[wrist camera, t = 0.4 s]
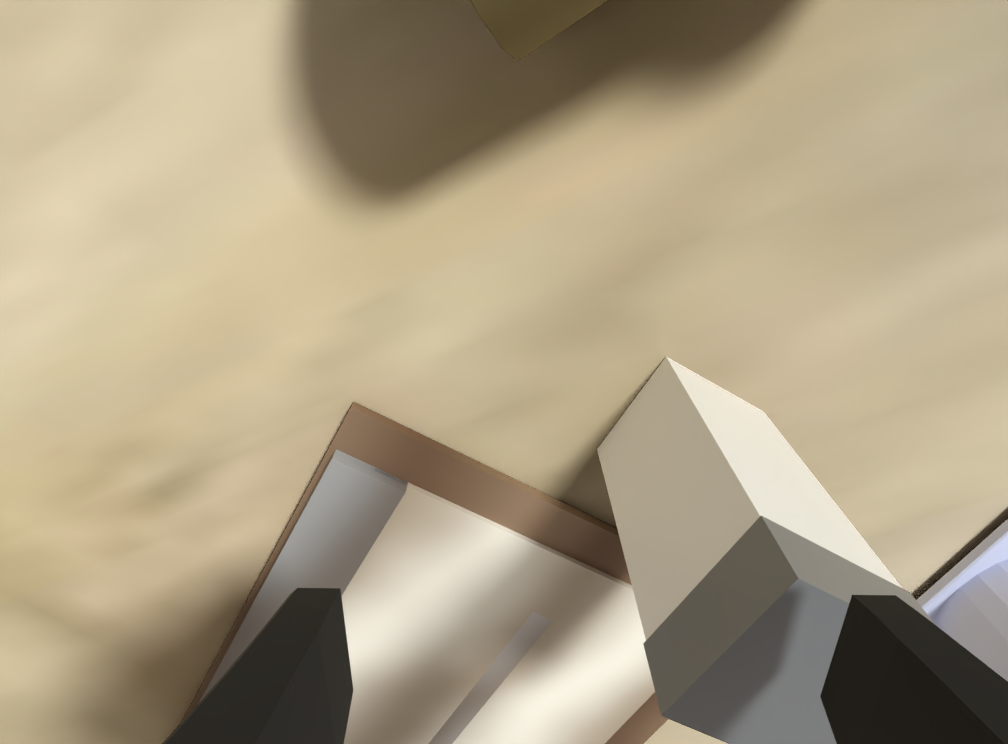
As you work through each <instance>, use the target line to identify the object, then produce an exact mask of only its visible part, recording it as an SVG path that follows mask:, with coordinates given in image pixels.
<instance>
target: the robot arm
mask: <svg viewBox="0 0 1008 744" xmlns="http://www.w3.org/2000/svg"><path fill="white" fill-rule="evenodd" d="M916 601H917V602H918V603H919V605H920V606H921V607H922V608H923V610H924V611H925V612H926V613H927V615H928V616H929V617H930V618H931V620H932V621H933V622H934V623H935V624H933V623H932V622H931V621H930V620H928V619H927V618H926V617H924V616H923V615H922V614H920V613H919V612H918V611H916V610H915V609H914V608H912V607H911V606H910V605H908V604H907V603H906V602H904V601H903V600H901V599H900V598H899V597H897V596H896V595H852V596H851V600H850V603H849V606H848V609H847V612H846V616H845V619H844V622H843V625H842V628H841V632H840V635H839V638H838V641H837V644H836V648H835V651H834V654H833V657H832V660H831V663H830V667H829V670H828V673H827V676H826V679H825V683H824V686H823V689H822V692H821V695H820V697H821V700H822V703H823V706H824V709H825V712H826V715H827V718H828V720H829V723H830V726H831V729H832V732H833V735H834V738H835V740H836V743H837V744H1008V519H1007V520H1006V521H1005V522H1003V523H1002V524H1001V525H1000V526H999V527H998V528H997V529H996V530H995V531H993V532H992V533H991V534H990V535H989V536H988V537H987V538H986V539H984V540H983V541H982V542H981V543H980V544H979V545H978V546H977V547H975V548H974V549H973V550H972V551H971V552H970V553H969V554H968V555H966V556H965V557H964V558H963V559H962V560H961V561H960V562H959V563H957V564H956V565H955V566H954V567H953V568H952V569H951V570H950V571H948V572H947V573H946V574H945V575H944V576H943V577H942V578H941V579H939V580H938V581H937V582H936V583H935V584H934V585H933V586H932V587H931V588H929V589H928V590H927V591H926V592H925V593H924V594H923V595H922V596H920V597H919V598H918V599H917V600H916ZM352 695H353V683H352V676H351V668H350V660H349V652H348V644H347V636H346V628H345V620H344V613H343V605H342V597H341V589H340V588H297V589H296V590H294V591H293V592H292V593H291V594H290V595H289V596H288V598H287V599H286V600H285V601H284V603H283V604H282V605H281V606H280V607H279V609H278V610H277V611H276V612H275V614H274V615H273V616H272V617H271V619H270V620H269V621H268V622H267V624H266V625H265V626H264V627H263V628H262V630H261V631H260V632H259V633H258V635H257V636H256V637H255V638H254V639H253V641H252V642H251V643H250V644H249V645H248V647H247V648H246V649H245V650H244V651H243V653H242V654H241V655H240V656H239V657H238V659H237V660H236V661H235V662H234V663H233V665H232V666H231V667H230V668H229V669H228V670H227V672H226V673H225V674H224V675H223V676H222V677H221V679H220V680H219V681H218V682H217V683H216V684H215V685H214V687H213V688H212V689H211V690H210V691H209V692H208V693H207V695H206V696H205V697H204V698H203V699H202V700H201V701H200V702H199V704H198V705H197V706H196V707H195V708H194V709H193V710H192V712H191V713H190V714H189V715H188V716H187V717H186V718H185V720H184V721H183V722H182V723H181V724H180V725H179V726H178V727H177V728H176V730H175V731H174V732H173V733H172V734H171V735H170V736H169V737H168V738H167V739H166V740H165V741H164V743H163V744H344V739H345V734H346V729H347V723H348V718H349V712H350V707H351V701H352Z"/></svg>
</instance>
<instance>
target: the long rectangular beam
mask: <svg viewBox="0 0 1008 744" xmlns="http://www.w3.org/2000/svg"><path fill="white" fill-rule="evenodd" d="M597 451H598V455H599V459H600V463H601V467H602V471H603V475H604V479H605V482H606V486H607V490H608V494H609V498H610V502H611V506H612V510H613V514H614V518H615V522H616V525H617V529H618V533H619V537H620V541H621V545H622V549H623V553H624V557H625V561H626V564H627V568H628V572H629V576H630V580H631V584H632V588H633V592H634V596H635V600H636V603H637V607H638V611H639V615H640V619H641V623H642V627H643V631H644V635H645V639H646V641H645V642H644V643H643V645H644V649H645V653H646V657H647V661H648V665H649V669H650V673H651V677H652V681H653V685H654V689H655V693H656V697H657V701H658V705H659V709H660V713H661V716H663V717H666V718H668V719H670V720H673V721H675V722H678V723H680V724H682V725H685V726H687V727H690V728H692V729H695V730H697V731H699V732H702V733H704V734H707V735H709V736H711V737H714V738H716V739H719V740H721V741H724V742H726V743H728V744H837V743H836V740H835V738H834V735H833V732H832V729H831V726H830V723H829V720H828V718H827V715H826V712H825V709H824V706H823V703H822V700H821V697H820V695H821V692H822V689H823V686H824V683H825V679H826V676H827V673H828V670H829V667H830V663H831V660H832V657H833V654H834V651H835V648H836V644H837V641H838V638H839V635H840V632H841V628H842V625H843V622H844V619H845V616H846V612H847V609H848V606H849V603H850V600H851V596H852V595H896V596H897V597H899V598H900V599H901V600H903V601H904V602H906V603H907V604H908V605H910V606H911V607H912V608H914V609H915V610H916V611H918V612H919V613H920V614H922V615H923V616H924V617H926V618H927V619H928V620H930V621H931V622H932V623H933V624H935V623H934V622H933V621H932V620H931V618H930V617H929V616H928V615H927V613H926V612H925V611H924V610H923V608H922V607H921V606H920V605H919V603H918V602H917V601H916V599H915V598H914V597H913V596H912V594H911V593H910V592H908V591H906V590H904V589H903V588H902V587H901V586H900V585H899V583H898V582H897V581H896V580H895V578H894V577H893V576H892V575H891V573H890V572H889V571H888V569H887V568H886V567H885V566H884V564H883V563H882V562H881V561H880V559H879V558H878V557H877V555H876V554H875V553H874V552H873V550H872V549H871V548H870V546H869V545H868V544H867V543H866V541H865V540H864V539H863V538H862V536H861V535H860V534H859V532H858V531H857V530H856V529H855V527H854V526H853V525H852V524H851V522H850V521H849V520H848V518H847V517H846V516H845V515H844V513H843V512H842V511H841V510H840V508H839V507H838V506H837V504H836V503H835V502H834V501H833V499H832V498H831V497H830V496H829V494H828V493H827V492H826V490H825V489H824V488H823V487H822V485H821V484H820V483H819V482H818V480H817V479H816V478H815V476H814V475H813V474H812V473H811V471H810V470H809V469H808V468H807V466H806V465H805V464H804V462H803V461H802V460H801V459H800V457H799V456H798V455H797V454H796V452H795V451H794V450H793V448H792V447H791V446H790V445H789V443H788V442H787V441H786V440H785V438H784V437H783V436H782V434H781V433H780V432H779V431H778V429H777V428H776V427H775V425H774V424H773V423H772V422H771V420H770V419H769V418H768V417H767V415H766V414H765V413H764V411H762V410H760V409H758V408H757V407H755V406H753V405H751V404H749V403H748V402H746V401H744V400H742V399H741V398H739V397H737V396H735V395H733V394H732V393H730V392H728V391H726V390H725V389H723V388H721V387H719V386H717V385H716V384H714V383H712V382H710V381H709V380H707V379H705V378H703V377H701V376H700V375H698V374H696V373H694V372H693V371H691V370H689V369H687V368H685V367H684V366H682V365H680V364H678V363H677V362H675V361H673V360H671V359H669V358H668V357H665V359H664V360H663V361H662V363H661V364H660V365H659V367H658V368H657V369H656V371H655V372H654V373H653V375H652V376H651V377H650V379H649V380H648V381H647V383H646V384H645V385H644V387H643V388H642V389H641V391H640V392H639V394H638V395H637V396H636V398H635V399H634V400H633V402H632V403H631V404H630V406H629V407H628V408H627V410H626V411H625V412H624V414H623V415H622V416H621V418H620V419H619V420H618V422H617V423H616V424H615V426H614V427H613V428H612V430H611V431H610V432H609V434H608V435H607V437H606V438H605V439H604V441H603V442H602V443H601V445H600V446H599V447H598V449H597Z"/></svg>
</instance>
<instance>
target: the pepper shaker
mask: <svg viewBox="0 0 1008 744" xmlns="http://www.w3.org/2000/svg"><path fill="white" fill-rule="evenodd" d="M606 1H608V0H471V2H472V4H473V5H474V7H475V9H476V11H477V13H478V14H479V16H480V17H481V19H482V20H483V22H484V23H485V24H486V26H487V27H488V29H489V30H490V32H491V33H492V34H493V36H494V37H495V39H496V40H497V42H498V43H499V44H500V46H501V47H502V48H503V49H504V50H505V51H506V52H507V53H509V54H510V55H511V56H512V57H513V58H514V59H516V60H518V59H521V58H523V57H525V56H526V55H528V54H529V53H531V52H532V51H534V50H535V49H537V48H538V47H539V46H541V45H542V44H544V43H545V42H547V41H548V40H550V39H551V38H553V37H554V36H556V35H557V34H559V33H560V32H562V31H563V30H565V29H566V28H568V27H569V26H571V25H572V24H574V23H575V22H577V21H578V20H580V19H581V18H582V17H584V16H585V15H587V14H588V13H590V12H591V11H593V10H594V9H596V8H597V7H599V6H600V5H602V4H603V3H605V2H606Z"/></svg>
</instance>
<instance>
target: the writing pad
mask: <svg viewBox="0 0 1008 744" xmlns="http://www.w3.org/2000/svg"><path fill="white" fill-rule="evenodd" d="M297 588H340V589H341V597H342V605H343V613H344V620H345V628H346V636H347V644H348V652H349V660H350V668H351V676H352V683H353V695H352V701H351V707H350V712H349V718H348V723H347V729H346V734H345V739H344V744H644V743H645V742H646V741H647V740H648V739H649V738H650V737H651V736H652V735H653V734H654V733H655V732H656V731H657V730H658V729H659V728H660V727H661V726H662V725H663V724H664V723H665V722H666V721H667V720H668V718H666V717H663V716H661V713H660V709H659V705H658V701H657V697H656V693H655V689H654V685H653V681H652V677H651V673H650V669H649V665H648V661H647V657H646V653H645V649H644V645H643V643H644V642H645V641H646V639H645V635H644V631H643V627H642V623H641V619H640V615H639V611H638V607H637V603H636V600H635V596H634V592H633V588H632V584H631V580H630V576H629V572H628V568H627V564H626V561H625V557H624V553H623V549H622V545H621V541H620V537H619V533H618V529H617V528H615V527H613V526H611V525H609V524H607V523H605V522H603V521H600V520H598V519H596V518H594V517H592V516H590V515H588V514H586V513H584V512H582V511H580V510H578V509H576V508H573V507H571V506H569V505H567V504H565V503H563V502H561V501H559V500H557V499H555V498H553V497H551V496H548V495H546V494H544V493H542V492H540V491H538V490H536V489H534V488H532V487H530V486H528V485H526V484H524V483H521V482H519V481H517V480H515V479H513V478H511V477H509V476H507V475H505V474H503V473H501V472H499V471H497V470H494V469H492V468H490V467H488V466H486V465H484V464H482V463H480V462H478V461H476V460H474V459H472V458H470V457H467V456H465V455H463V454H461V453H459V452H457V451H455V450H453V449H451V448H449V447H447V446H445V445H443V444H440V443H438V442H436V441H434V440H432V439H430V438H428V437H426V436H424V435H422V434H420V433H418V432H416V431H413V430H411V429H409V428H407V427H405V426H403V425H401V424H399V423H397V422H395V421H393V420H391V419H388V418H386V417H384V416H382V415H380V414H378V413H376V412H374V411H372V410H370V409H368V408H366V407H364V406H361V405H359V404H357V403H355V402H353V404H352V406H351V407H350V409H349V411H348V413H347V415H346V417H345V419H344V420H343V422H342V424H341V426H340V428H339V430H338V432H337V434H336V435H335V437H334V439H333V441H332V443H331V445H330V447H329V448H328V450H327V452H326V454H325V456H324V458H323V460H322V461H321V463H320V465H319V467H318V469H317V471H316V473H315V475H314V476H313V478H312V480H311V482H310V484H309V486H308V488H307V489H306V491H305V493H304V495H303V497H302V499H301V501H300V502H299V504H298V506H297V508H296V510H295V512H294V514H293V516H292V517H291V519H290V521H289V523H288V525H287V527H286V529H285V530H284V532H283V534H282V536H281V538H280V540H279V542H278V544H277V545H276V547H275V549H274V551H273V553H272V555H271V557H270V558H269V560H268V562H267V564H266V566H265V568H264V570H263V571H262V573H261V575H260V577H259V579H258V581H257V583H256V585H255V586H254V588H253V590H252V592H251V594H250V596H249V598H248V599H247V601H246V603H245V605H244V607H243V609H242V611H241V612H240V614H239V616H238V618H237V620H236V622H235V624H234V626H233V627H232V629H231V631H230V633H229V635H228V637H227V639H226V640H225V642H224V644H223V646H222V648H221V650H220V652H219V654H218V655H217V657H216V659H215V661H214V663H213V665H212V667H211V668H210V670H209V672H208V674H207V676H206V678H205V680H204V681H203V683H202V685H201V687H200V689H199V691H198V693H197V695H196V696H195V698H194V700H193V702H192V704H191V706H190V708H189V709H188V711H187V713H186V715H185V717H184V719H183V721H184V720H185V718H186V717H187V716H188V715H189V714H190V713H191V712H192V710H193V709H194V708H195V707H196V706H197V705H198V704H199V702H200V701H201V700H202V699H203V698H204V697H205V696H206V695H207V693H208V692H209V691H210V690H211V689H212V688H213V687H214V685H215V684H216V683H217V682H218V681H219V680H220V679H221V677H222V676H223V675H224V674H225V673H226V672H227V670H228V669H229V668H230V667H231V666H232V665H233V663H234V662H235V661H236V660H237V659H238V657H239V656H240V655H241V654H242V653H243V651H244V650H245V649H246V648H247V647H248V645H249V644H250V643H251V642H252V641H253V639H254V638H255V637H256V636H257V635H258V633H259V632H260V631H261V630H262V628H263V627H264V626H265V625H266V624H267V622H268V621H269V620H270V619H271V617H272V616H273V615H274V614H275V612H276V611H277V610H278V609H279V607H280V606H281V605H282V604H283V603H284V601H285V600H286V599H287V598H288V596H289V595H290V594H291V593H292V592H293V591H294V590H296V589H297ZM183 721H182V722H183ZM182 722H181V723H182Z"/></svg>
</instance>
